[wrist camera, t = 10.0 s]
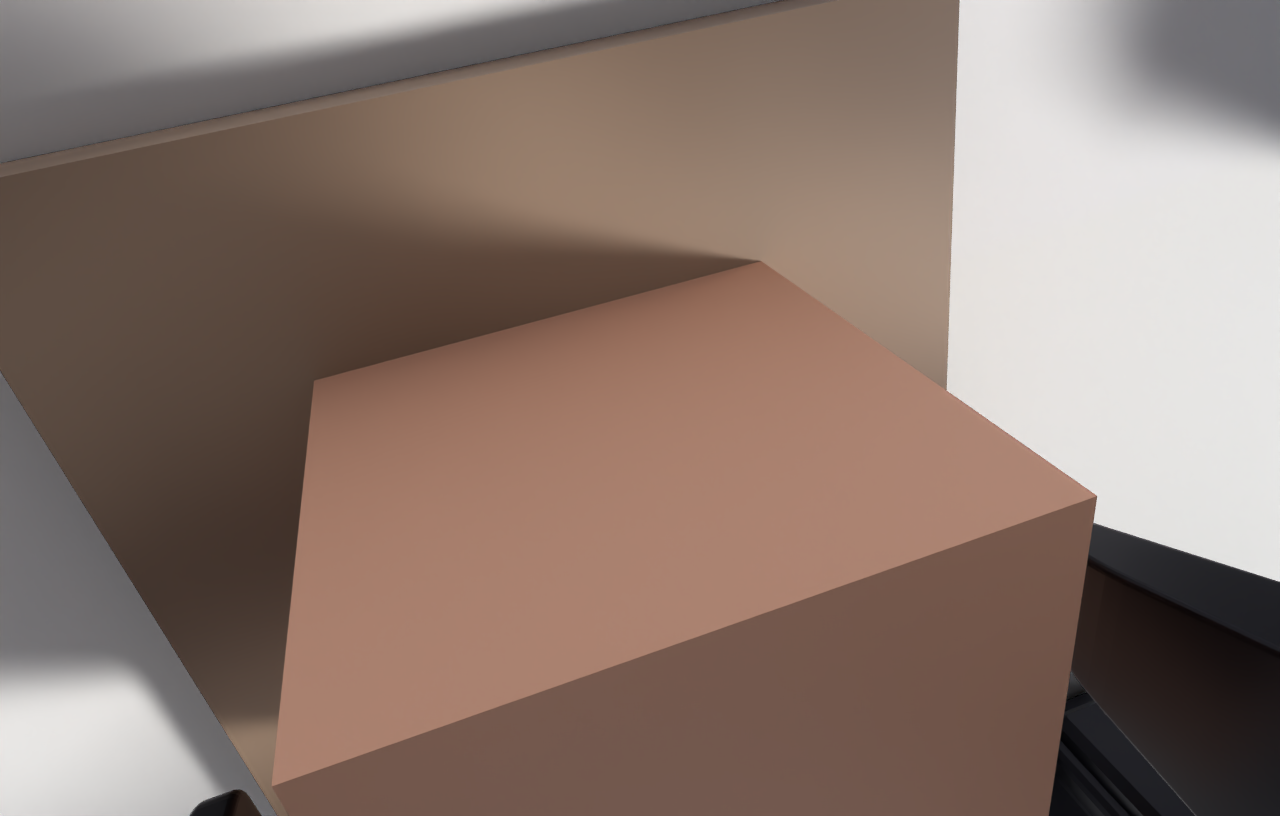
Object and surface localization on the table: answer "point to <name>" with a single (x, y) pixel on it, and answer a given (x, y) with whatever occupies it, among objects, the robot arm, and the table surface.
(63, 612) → the table surface
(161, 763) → the table surface
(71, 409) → the walnut board
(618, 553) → the terracotta cube
